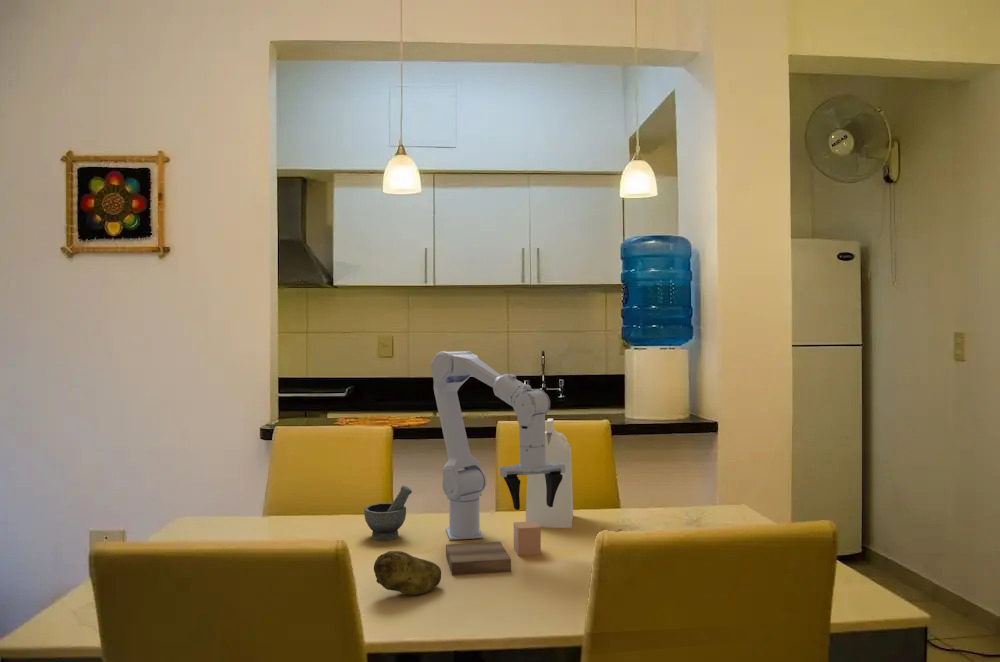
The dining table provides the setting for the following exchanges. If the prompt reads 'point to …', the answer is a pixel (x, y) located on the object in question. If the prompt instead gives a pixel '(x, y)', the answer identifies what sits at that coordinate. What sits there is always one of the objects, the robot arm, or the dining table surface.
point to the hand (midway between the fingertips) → (533, 507)
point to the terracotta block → (527, 538)
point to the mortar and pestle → (387, 516)
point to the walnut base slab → (477, 558)
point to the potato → (406, 573)
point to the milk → (563, 501)
